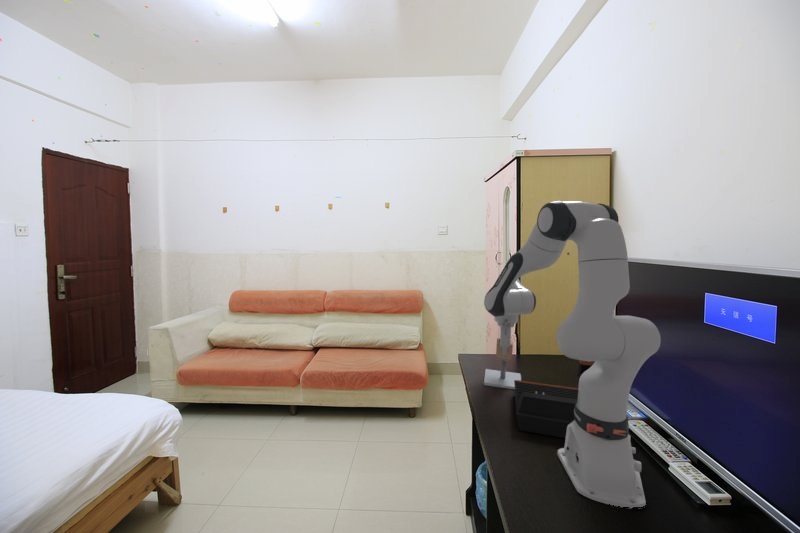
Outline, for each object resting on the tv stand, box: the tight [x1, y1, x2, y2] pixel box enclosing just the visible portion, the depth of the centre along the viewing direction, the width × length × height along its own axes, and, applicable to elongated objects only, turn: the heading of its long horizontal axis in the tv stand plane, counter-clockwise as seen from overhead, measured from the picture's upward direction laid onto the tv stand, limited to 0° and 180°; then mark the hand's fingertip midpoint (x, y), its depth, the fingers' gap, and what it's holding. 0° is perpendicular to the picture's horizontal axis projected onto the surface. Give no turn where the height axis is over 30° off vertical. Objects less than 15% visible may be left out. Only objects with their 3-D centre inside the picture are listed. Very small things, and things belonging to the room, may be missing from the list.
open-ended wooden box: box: [495, 337, 514, 360], centre depth 139 cm, size 6×6×6 cm
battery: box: [577, 360, 595, 378], centre depth 145 cm, size 4×7×10 cm, turn 75°
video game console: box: [514, 380, 578, 439], centre depth 112 cm, size 28×25×10 cm
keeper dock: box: [483, 359, 522, 391], centre depth 140 cm, size 14×14×8 cm
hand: (504, 351), depth 139 cm, fingers closed on open-ended wooden box, 6 cm apart
